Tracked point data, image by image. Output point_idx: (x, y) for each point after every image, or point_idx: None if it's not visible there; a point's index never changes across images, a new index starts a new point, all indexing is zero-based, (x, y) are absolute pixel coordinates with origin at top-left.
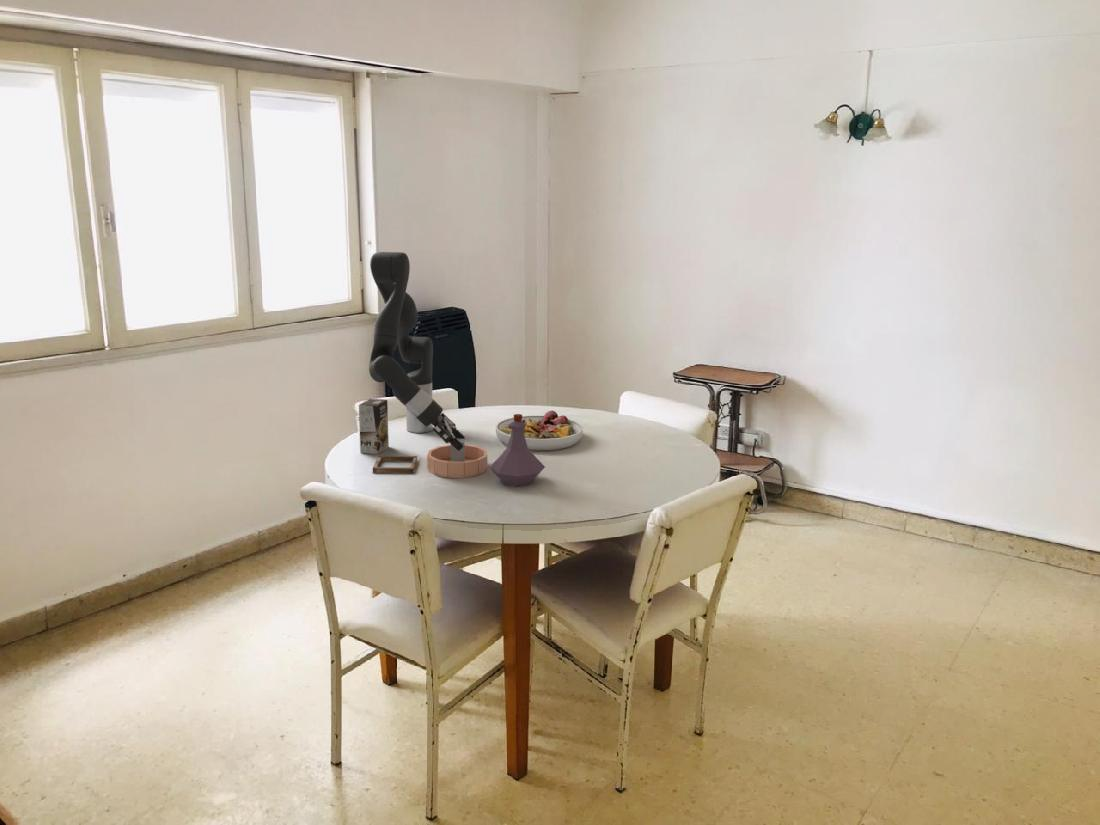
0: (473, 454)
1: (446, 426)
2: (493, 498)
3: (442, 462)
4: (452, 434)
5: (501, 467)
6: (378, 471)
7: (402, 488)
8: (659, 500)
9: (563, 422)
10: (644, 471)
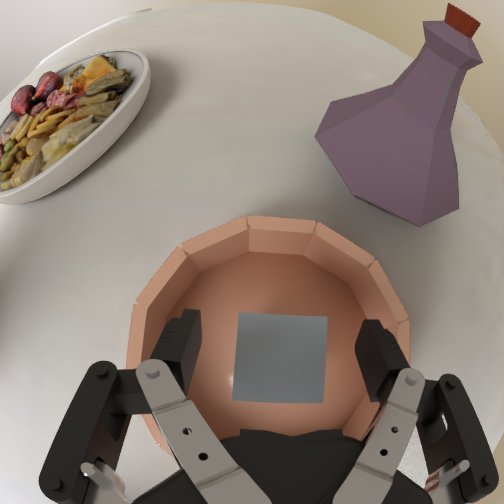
0: (182, 284)
1: (398, 457)
2: (485, 244)
3: None
4: (403, 389)
5: (457, 188)
6: None
7: None
8: (399, 51)
9: (58, 77)
10: (288, 27)
